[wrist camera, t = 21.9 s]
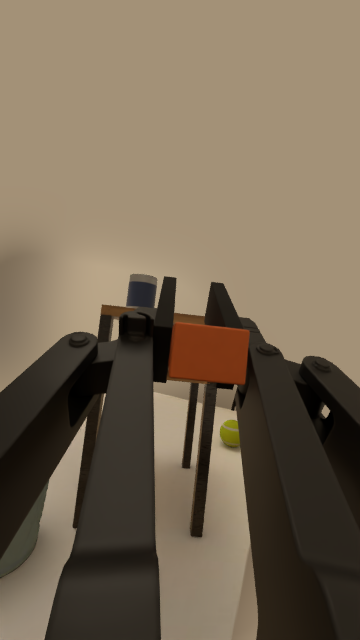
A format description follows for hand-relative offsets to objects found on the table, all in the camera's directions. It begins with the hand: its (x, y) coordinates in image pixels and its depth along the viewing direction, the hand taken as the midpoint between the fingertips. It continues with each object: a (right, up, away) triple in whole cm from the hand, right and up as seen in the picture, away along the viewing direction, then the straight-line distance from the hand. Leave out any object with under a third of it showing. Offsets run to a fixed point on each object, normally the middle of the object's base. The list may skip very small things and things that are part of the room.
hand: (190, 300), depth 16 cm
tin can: (-9, 0, +36) cm, 37 cm away
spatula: (-1, -4, +4) cm, 6 cm away
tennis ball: (+13, -35, +52) cm, 64 cm away
